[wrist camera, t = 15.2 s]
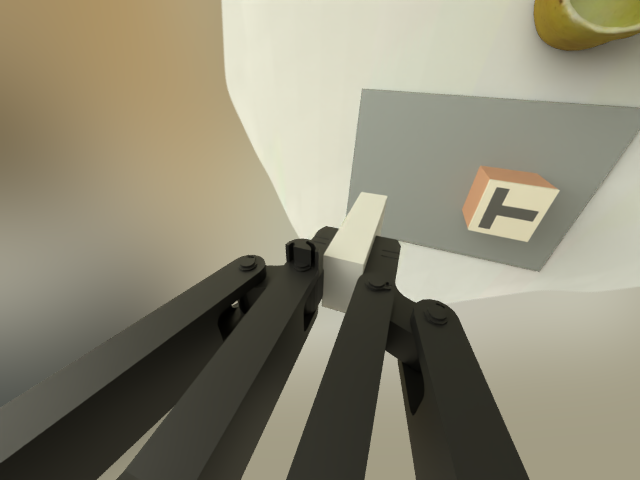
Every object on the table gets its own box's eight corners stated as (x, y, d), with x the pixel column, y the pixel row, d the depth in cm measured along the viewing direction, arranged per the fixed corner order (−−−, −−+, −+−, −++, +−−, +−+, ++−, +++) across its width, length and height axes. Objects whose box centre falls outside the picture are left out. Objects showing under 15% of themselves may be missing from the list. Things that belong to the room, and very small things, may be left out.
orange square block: (559, 190, 24) (537, 173, 29) (490, 180, 25) (480, 165, 30) (527, 241, 27) (512, 218, 32) (468, 229, 29) (461, 209, 33)
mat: (362, 88, 31) (362, 88, 30) (650, 108, 23) (654, 109, 23) (345, 227, 42) (344, 228, 41) (538, 270, 34) (539, 271, 34)
